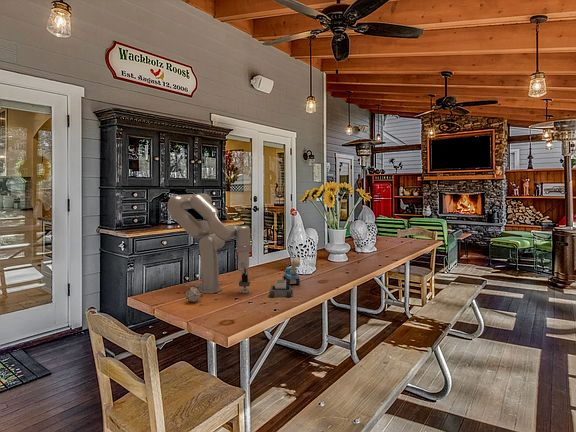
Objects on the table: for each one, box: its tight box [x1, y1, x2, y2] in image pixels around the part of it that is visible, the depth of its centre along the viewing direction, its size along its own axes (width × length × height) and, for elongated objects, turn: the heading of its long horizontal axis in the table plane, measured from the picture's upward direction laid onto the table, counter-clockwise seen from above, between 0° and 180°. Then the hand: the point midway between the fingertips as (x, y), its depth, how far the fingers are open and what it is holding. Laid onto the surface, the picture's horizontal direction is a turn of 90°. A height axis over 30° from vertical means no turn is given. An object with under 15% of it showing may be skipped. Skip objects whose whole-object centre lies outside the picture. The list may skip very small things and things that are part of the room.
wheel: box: [238, 279, 251, 287], centre depth 207 cm, size 6×6×2 cm
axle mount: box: [240, 286, 250, 295], centre depth 207 cm, size 5×5×4 cm
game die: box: [183, 285, 203, 304], centre depth 191 cm, size 9×8×10 cm
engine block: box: [274, 279, 286, 290], centre depth 204 cm, size 6×5×6 cm
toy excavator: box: [281, 257, 301, 285], centre depth 222 cm, size 9×17×17 cm, turn 15°
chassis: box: [267, 284, 294, 298], centre depth 205 cm, size 13×13×3 cm
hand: (244, 281), depth 205 cm, fingers closed
